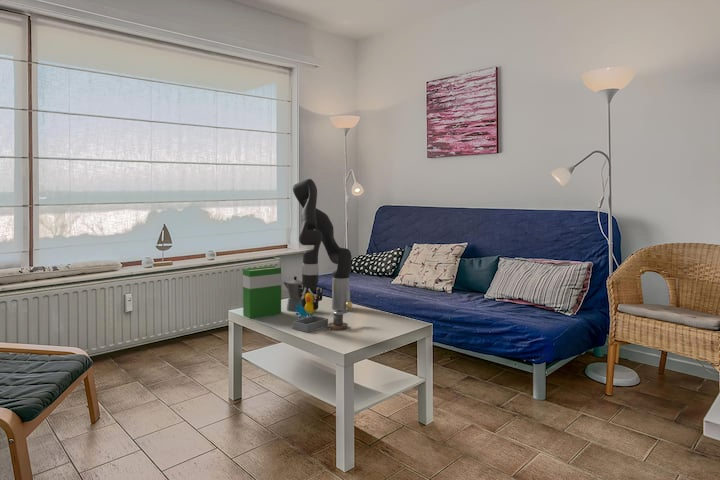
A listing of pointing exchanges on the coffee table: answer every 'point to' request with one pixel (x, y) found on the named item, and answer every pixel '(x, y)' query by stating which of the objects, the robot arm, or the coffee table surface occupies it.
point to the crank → (348, 309)
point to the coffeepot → (293, 294)
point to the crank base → (337, 323)
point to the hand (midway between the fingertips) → (310, 308)
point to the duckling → (309, 303)
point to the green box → (261, 291)
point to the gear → (302, 311)
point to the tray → (310, 323)
